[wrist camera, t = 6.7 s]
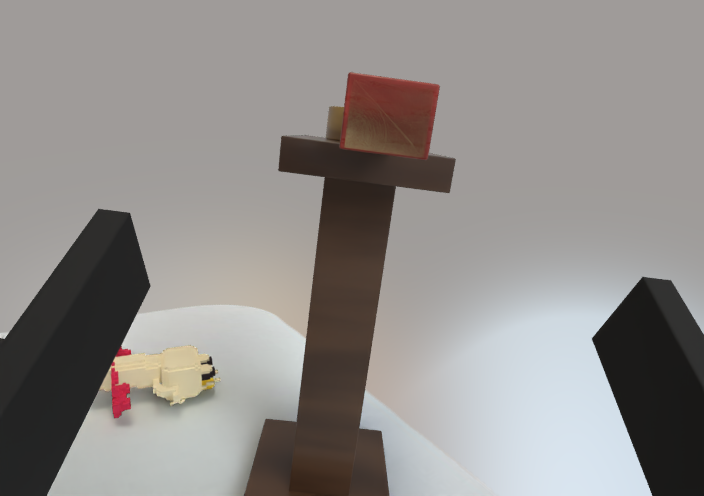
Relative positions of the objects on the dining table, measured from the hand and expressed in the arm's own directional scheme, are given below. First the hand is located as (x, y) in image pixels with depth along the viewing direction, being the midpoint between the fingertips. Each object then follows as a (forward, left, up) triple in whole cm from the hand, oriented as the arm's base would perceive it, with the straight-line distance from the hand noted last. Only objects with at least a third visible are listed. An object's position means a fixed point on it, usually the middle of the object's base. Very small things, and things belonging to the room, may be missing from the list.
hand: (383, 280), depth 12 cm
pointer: (-12, +12, +3) cm, 17 cm away
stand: (-16, +16, -27) cm, 35 cm away
